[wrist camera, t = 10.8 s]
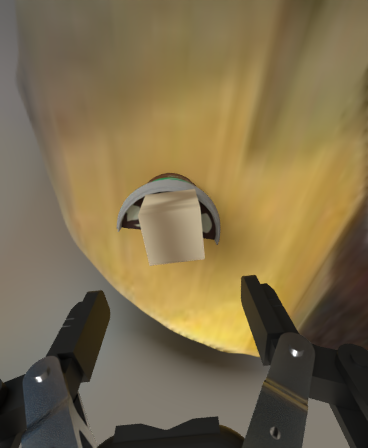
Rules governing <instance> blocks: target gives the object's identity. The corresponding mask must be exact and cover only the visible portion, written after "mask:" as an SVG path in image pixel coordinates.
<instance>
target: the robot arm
mask: <svg viewBox="0 0 368 448" xmlns="http://www.w3.org/2000/svg"><path fill="white" fill-rule="evenodd" d="M241 302H242V306H243V309H244V312H245V315H246V318H247V320H248V323H249V326H250V329H251V332H252V335H253V337H254V340H255V343H256V346H257V349H258V352H259V355H260V357H261V360H262V363H263V365H264V366H265V365H270V369H269V371H268V374H267V378H266V380H265V381H264V383H263V385H262V388H261V391H260V394H259V397H258V400H257V403H256V407H255V409H254V412H253V415H252V418H251V421H250V425H249V427H248V430H247V434H246V436H245V438H244V437H242V436H241V435H240V434H239V433H237V432H236V431H234V430H232V429H231V428H228V427H226V426H223V425H219V420H218V417H206V418H196V419H191V420H189V421H187V422H184V423H182V424H180V425H178V426H176V427H173V428H171V429H168V430H163V429H159V428H155V427H152V426H148V425H144V424H131V425H121V426H116V429H115V434H114V436H112V437H110V438H108V439H107V440H105V441H104V442H103V443H101V444H100V445H99V446H98V445H97V443H96V440H95V438H94V436H93V434H92V431H91V429H90V426H89V423H88V419H87V417H86V413H85V410H84V407H83V404H82V400H81V397H80V394H79V392H78V389H79V386H80V383H81V382H89V381H90V379H91V375H92V372H93V369H94V366H95V363H96V360H97V356H98V354H99V351H100V347H101V345H102V341H103V338H104V335H105V332H106V329H107V326H108V323H109V320H110V308H109V306H108V303H107V300H106V297H105V295H104V292H103V291H102V290H100V291H90V292H87V294H86V296H85V298H84V300H83V301H82V302H79V303H77V304H76V305H75V306H74V307H73V308H72V309H71V311H70V313H69V315H68V316H67V318H66V320H65V322H64V324H63V327H62V328H61V329H60V331H59V333H58V335H57V337H56V339H55V341H54V342H53V344H52V346H51V348H50V350H49V352H48V353H47V355H46V357H44V358H42V359H40V360H38V361H37V362H36V363H34V364H33V365H32V366H31V367H30V369H29V370H28V371H27V372H26V374H24V375H22V376H19V377H17V378H14V379H12V380H9V381H7V382H4V383H3V382H2V381H1V379H0V448H19V445H20V443H21V446H22V448H302V444H303V438H304V431H305V425H306V418H307V412H308V405H307V404H308V398H312V399H315V400H319V401H322V402H326V403H329V404H330V407H331V409H332V411H333V413H334V415H335V417H336V419H337V421H338V423H339V425H340V427H341V430H342V432H343V434H344V436H345V438H346V440H347V442H348V444H349V446H350V448H368V351H367V350H366V349H364V348H362V347H360V346H357V345H354V344H344V345H341V346H340V347H339V349H338V350H334V349H329V348H324V347H320V346H316V345H314V344H312V343H310V342H309V340H307V339H306V338H305V337H303V336H302V335H300V334H299V333H298V331H297V330H296V328H295V326H294V324H293V322H292V321H291V319H290V317H289V315H288V314H287V312H286V310H285V308H284V307H283V306H282V303H281V301H280V299H279V298H278V296H277V294H276V292H275V291H274V289H272V288H271V287H270V286H269V285H268V284H267V283H265V284H260V283H259V281H258V279H257V277H256V275H250V276H242V278H241ZM26 429H27V430H26Z"/></svg>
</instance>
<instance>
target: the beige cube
mask: <svg viewBox="0 0 368 448" xmlns="http://www.w3.org/2000/svg"><path fill="white" fill-rule="evenodd" d="M138 218H139V223H140V227H141V231H142V235H143V240H144V244H145V248H146V252H147V256H148V261H149V265H150V266H151V265H159V264H168V263H176V262H184V261H193V260H201V259H205V255H204V244H203V233H202V221H201V210H200V205H199V202H198V198H197V195H196V191H195V189H189V190H181V191H173V192H165V193H157V194H149V195H145V198H144V200H143V203H142V206H141V208H140V211H139V214H138Z"/></svg>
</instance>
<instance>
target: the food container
mask: <svg viewBox="0 0 368 448" xmlns="http://www.w3.org/2000/svg"><path fill="white" fill-rule="evenodd" d="M189 189H195V191H196V195H197V198H198V202H199V205H200V210H201V221H202V233H203V238H206V239H213V240H215V242H216V244H217V245H218V242H219V238H220V219H219V214H218V211H217V209H216V207H215V205H214V203H213V202H212V200H211V199H210V198H209V197H208V195H206V194H205V193H204V192H203V191H202V190H200V189H199V188H197V187H196V186H195V185H194V184H193V183H192V182H191V181H190V180H189V179H188V178H186V177H184V176H182V175H179V174H175V173H166V174H161V175H159V176H156V177H155V178H153V179H151V180H150V181H149V182H148V183H147V184H145V185H143V186H141V187H140V188H138V189H136V190H135V191H134V192H133V193H132V194H130V195H129V197H128V198H127V199H126V200H125V202H124V203H123V205H122V207H121V209H120V212H119V215H118V221H117V229H118V232H119V230H120V229H121V228H122V227H123V228H128V229H129V228H132V229H140V230H141V227H140V223H139V218H138V214H139V211H140V208H141V206H142V203H143V200H144V198H145V195H149V194H157V193H165V192H173V191H181V190H189Z"/></svg>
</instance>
